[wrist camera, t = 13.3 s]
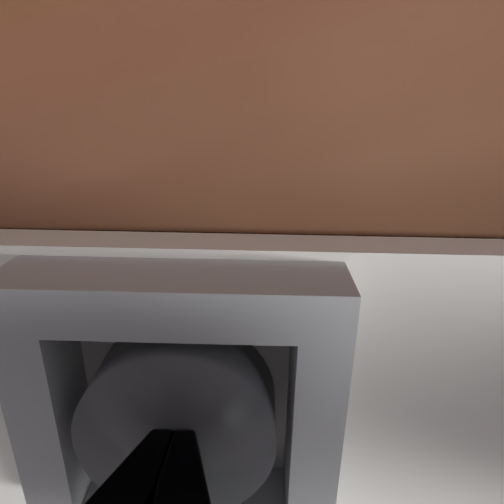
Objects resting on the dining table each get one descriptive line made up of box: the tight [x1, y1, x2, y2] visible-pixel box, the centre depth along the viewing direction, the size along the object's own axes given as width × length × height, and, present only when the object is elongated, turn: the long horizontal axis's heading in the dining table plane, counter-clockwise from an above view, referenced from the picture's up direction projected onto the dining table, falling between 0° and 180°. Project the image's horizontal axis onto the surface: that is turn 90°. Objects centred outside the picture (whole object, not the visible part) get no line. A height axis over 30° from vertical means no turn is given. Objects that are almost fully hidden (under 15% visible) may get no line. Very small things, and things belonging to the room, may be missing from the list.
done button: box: [71, 342, 277, 504], centre depth 9 cm, size 4×4×2 cm
